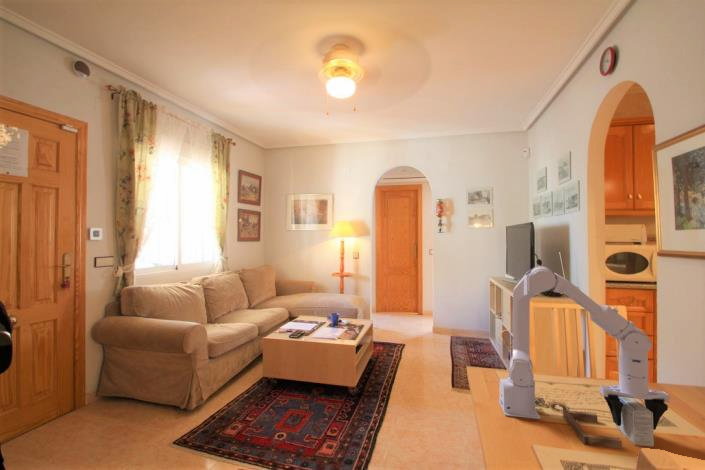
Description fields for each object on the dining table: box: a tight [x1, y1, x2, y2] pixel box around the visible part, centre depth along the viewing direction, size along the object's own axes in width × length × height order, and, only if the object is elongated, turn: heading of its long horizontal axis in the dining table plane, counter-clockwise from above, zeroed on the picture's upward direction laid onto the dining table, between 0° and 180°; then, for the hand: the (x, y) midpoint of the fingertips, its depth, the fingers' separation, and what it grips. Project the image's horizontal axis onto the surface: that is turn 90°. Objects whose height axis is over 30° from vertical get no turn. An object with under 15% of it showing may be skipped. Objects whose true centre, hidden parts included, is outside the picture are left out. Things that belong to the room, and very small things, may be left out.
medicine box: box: [615, 397, 655, 448], centre depth 82 cm, size 8×4×9 cm, turn 167°
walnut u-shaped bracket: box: [562, 409, 623, 450], centre depth 84 cm, size 8×12×2 cm, turn 167°
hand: (634, 425), depth 82 cm, fingers open, 7 cm apart
